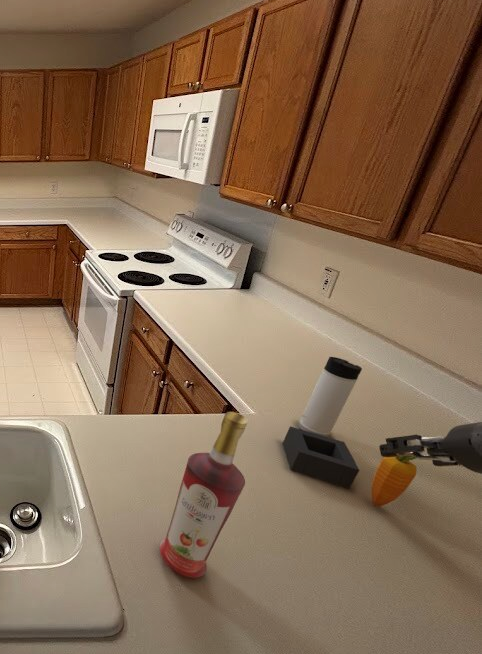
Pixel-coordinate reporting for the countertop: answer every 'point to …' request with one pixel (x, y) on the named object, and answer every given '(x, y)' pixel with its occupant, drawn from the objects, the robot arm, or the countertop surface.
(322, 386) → the travel mug
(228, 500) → the liquor
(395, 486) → the carrot
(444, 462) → the robot arm
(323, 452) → the socket pad
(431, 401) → the countertop surface
